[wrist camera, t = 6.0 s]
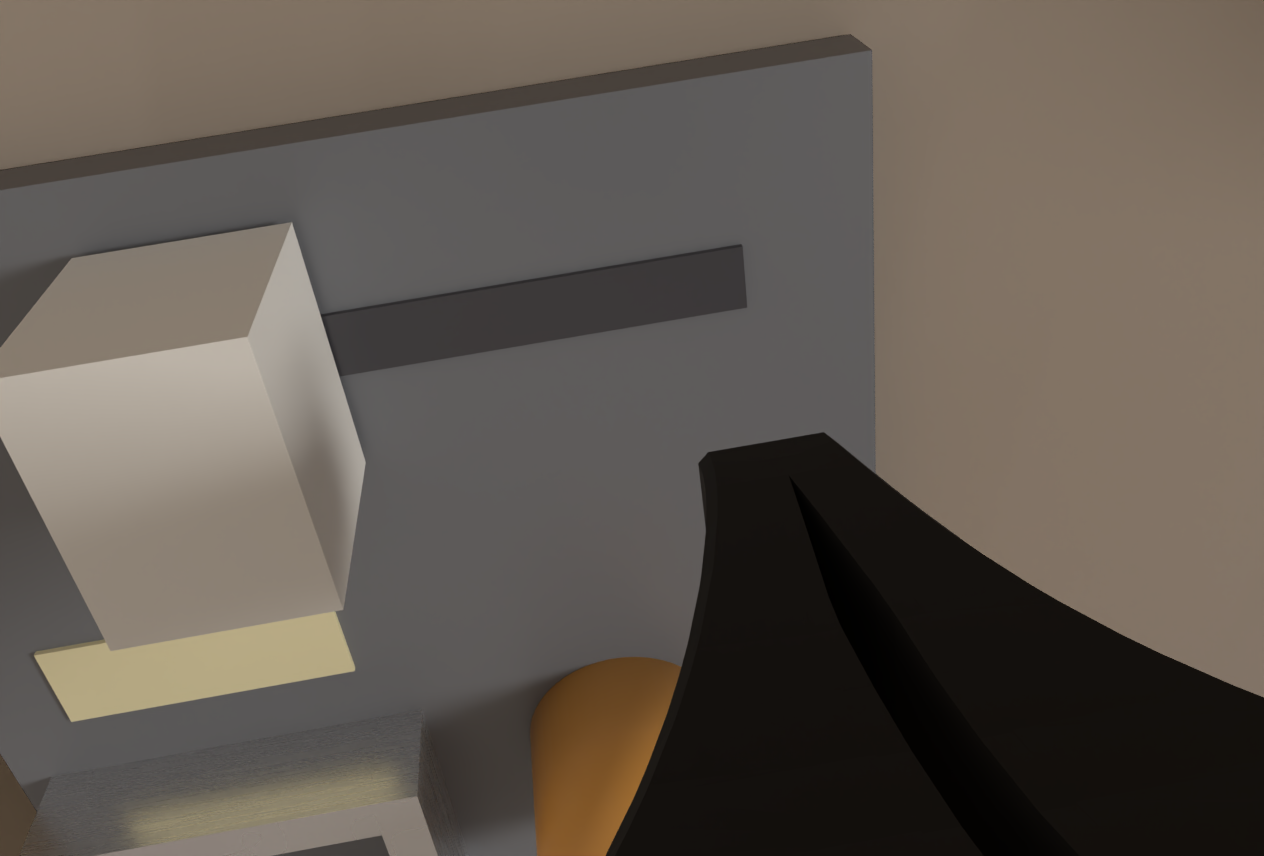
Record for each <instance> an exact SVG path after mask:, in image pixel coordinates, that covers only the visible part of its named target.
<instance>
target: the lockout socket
mask: <svg viewBox="0 0 1264 856" xmlns="http://www.w3.org/2000/svg"><path fill="white" fill-rule="evenodd" d="M381 835H382V837H383V840H384V842H385V845H386V848H387V850H388V853H389V855H390V856H469V855H468V851H467V848H466V845H465V842H464V839H463V836H462V833H461V830H460V827H459V823H458V820H457V817H456V814H455V811H454V808H453V805H452V802H451V799H450V795H449V792H448V789H447V786H446V783H445V780H444V777H443V774H442V771H441V767H440V764H439V761H438V758H437V755H436V752H435V749H434V746H433V743H432V739H431V736H430V733H429V730H428V727H427V724H426V721H425V718H424V714H423V711H422V709H421V710H416V711H410V712H405V713H399V714H394V715H388V716H383V717H377V718H372V719H366V720H361V721H355V722H350V723H344V724H339V725H333V726H328V727H322V728H317V729H311V730H305V731H300V732H294V733H289V734H283V735H278V736H272V737H267V738H261V739H256V740H250V741H245V742H239V743H234V744H228V745H223V746H217V747H212V748H206V749H201V750H195V751H190V752H184V753H179V754H173V755H168V756H162V757H157V758H151V759H146V760H140V761H135V762H129V763H124V764H118V765H113V766H107V767H102V768H96V769H90V770H85V771H79V772H74V773H68V774H63V775H57V776H52V777H51V779H50V782H49V784H48V787H47V789H46V791H45V794H44V796H43V799H42V801H41V804H40V806H39V808H38V811H37V813H36V816H35V818H34V821H33V823H32V825H31V828H30V830H29V833H28V835H27V838H26V840H25V842H24V845H23V847H22V850H21V852H20V855H19V856H273V855H278V854H284V853H289V852H295V851H300V850H305V849H311V848H316V847H321V846H327V845H332V844H338V843H343V842H348V841H354V840H359V839H365V838H370V837H375V836H381Z"/></svg>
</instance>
